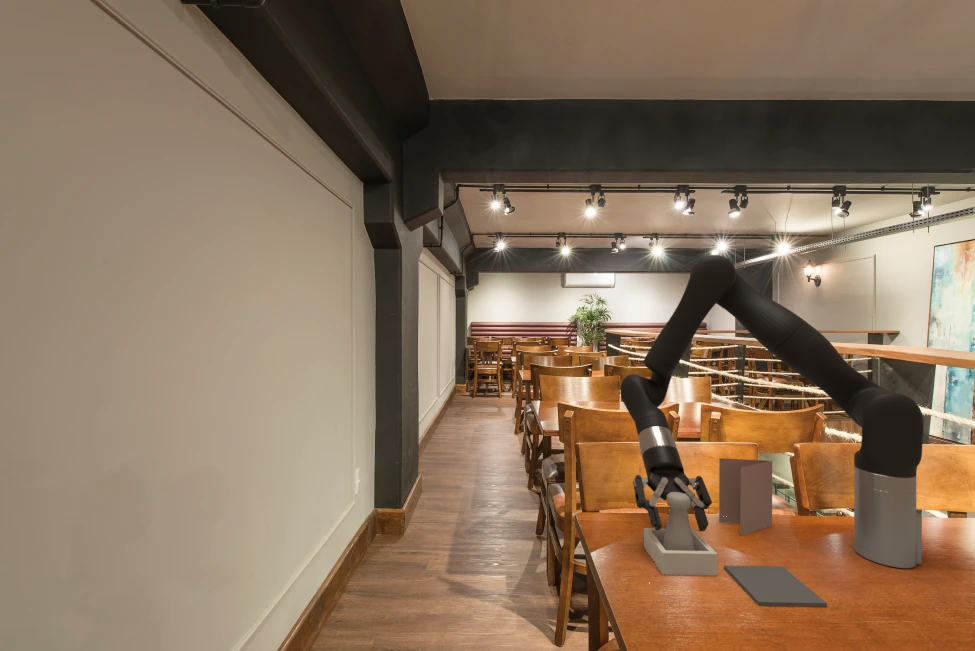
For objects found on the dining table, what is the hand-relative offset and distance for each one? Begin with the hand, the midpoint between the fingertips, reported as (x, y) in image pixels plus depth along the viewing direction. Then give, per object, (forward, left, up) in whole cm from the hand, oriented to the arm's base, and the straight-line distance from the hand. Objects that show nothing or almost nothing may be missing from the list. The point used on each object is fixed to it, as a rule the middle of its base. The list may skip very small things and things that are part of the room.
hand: (681, 529), depth 84 cm
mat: (-13, +7, -7) cm, 16 cm away
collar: (0, -1, -7) cm, 7 cm away
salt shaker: (0, -1, -7) cm, 7 cm away
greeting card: (-22, -15, -7) cm, 28 cm away
